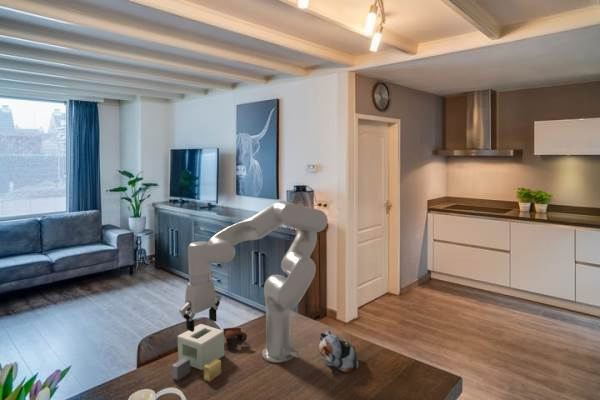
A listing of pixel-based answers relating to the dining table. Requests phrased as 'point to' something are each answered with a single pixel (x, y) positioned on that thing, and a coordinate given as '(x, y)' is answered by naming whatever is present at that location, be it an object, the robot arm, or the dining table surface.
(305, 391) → the dining table surface
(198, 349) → the cream slotted box
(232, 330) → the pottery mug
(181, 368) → the block
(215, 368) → the block
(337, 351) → the lucky cat figurine
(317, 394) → the dining table surface
